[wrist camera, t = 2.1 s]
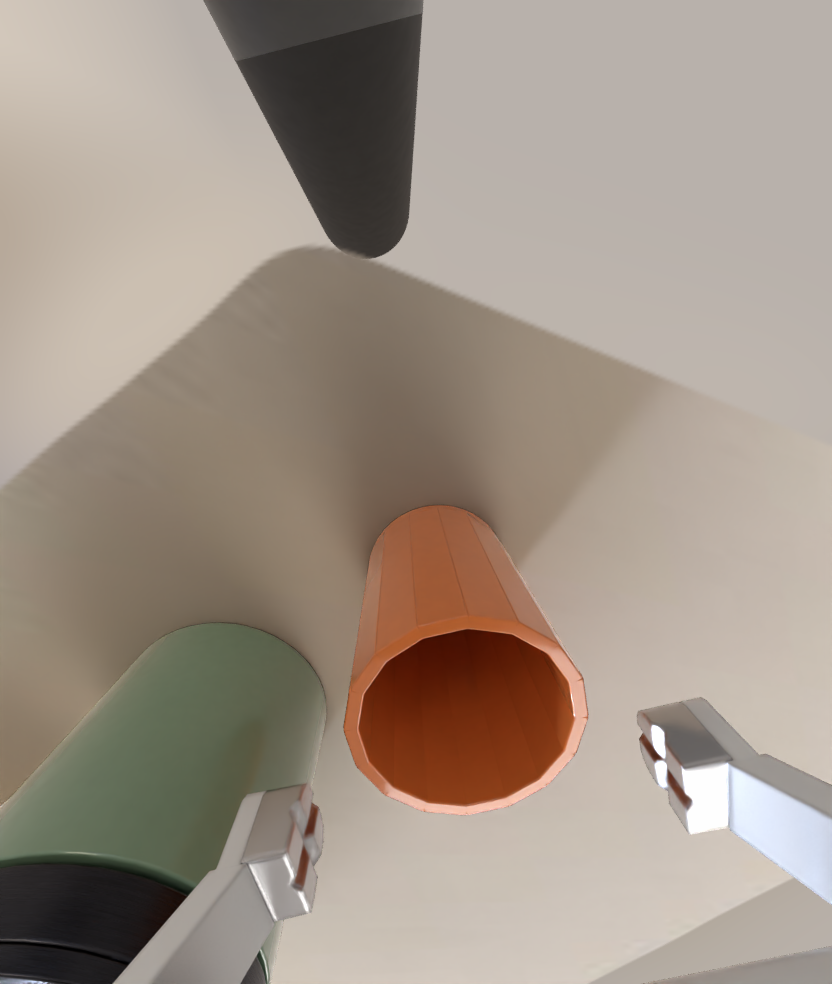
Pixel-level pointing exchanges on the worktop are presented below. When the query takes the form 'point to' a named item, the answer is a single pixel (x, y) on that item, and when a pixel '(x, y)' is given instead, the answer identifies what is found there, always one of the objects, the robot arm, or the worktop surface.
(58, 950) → the jar lid
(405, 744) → the cup
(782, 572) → the worktop surface
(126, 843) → the jar
